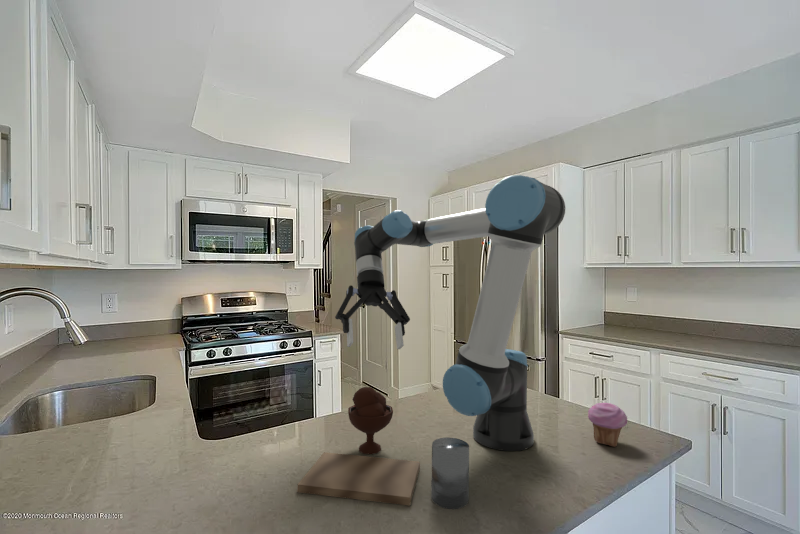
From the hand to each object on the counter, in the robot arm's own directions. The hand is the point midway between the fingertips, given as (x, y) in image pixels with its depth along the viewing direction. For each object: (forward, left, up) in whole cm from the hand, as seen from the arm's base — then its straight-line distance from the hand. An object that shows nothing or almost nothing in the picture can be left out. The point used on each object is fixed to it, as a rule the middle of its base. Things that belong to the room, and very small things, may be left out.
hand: (375, 346), depth 101 cm
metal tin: (-20, +22, -24) cm, 38 cm away
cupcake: (-58, -11, -24) cm, 64 cm away
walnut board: (-2, +19, -24) cm, 31 cm away
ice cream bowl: (0, +5, -24) cm, 24 cm away
